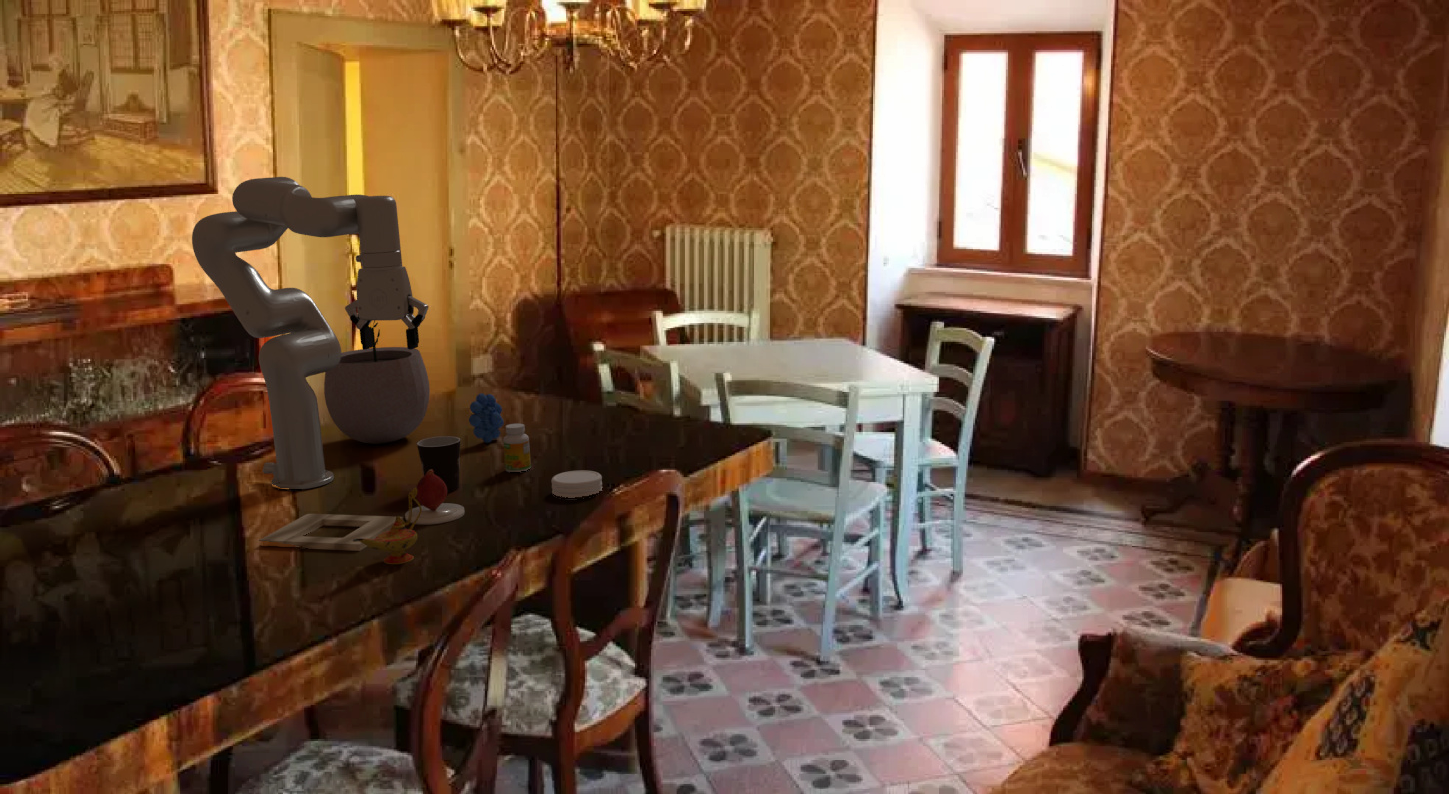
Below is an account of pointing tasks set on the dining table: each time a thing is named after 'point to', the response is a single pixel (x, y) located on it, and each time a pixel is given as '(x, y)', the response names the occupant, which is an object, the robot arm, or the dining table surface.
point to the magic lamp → (396, 538)
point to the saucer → (436, 514)
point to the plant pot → (378, 393)
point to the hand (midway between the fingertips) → (390, 348)
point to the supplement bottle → (516, 449)
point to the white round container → (576, 483)
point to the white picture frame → (311, 522)
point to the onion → (431, 491)
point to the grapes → (486, 417)
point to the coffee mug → (441, 459)
